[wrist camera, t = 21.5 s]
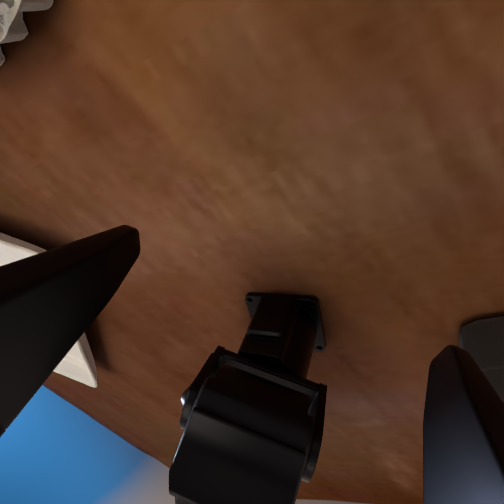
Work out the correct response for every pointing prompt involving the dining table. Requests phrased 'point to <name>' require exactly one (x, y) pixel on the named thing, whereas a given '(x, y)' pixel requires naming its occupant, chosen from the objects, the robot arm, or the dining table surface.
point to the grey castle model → (17, 19)
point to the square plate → (80, 356)
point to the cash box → (486, 349)
